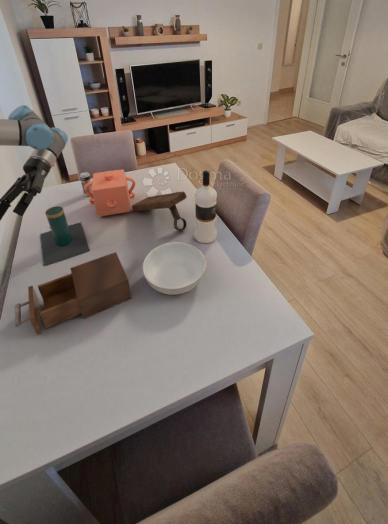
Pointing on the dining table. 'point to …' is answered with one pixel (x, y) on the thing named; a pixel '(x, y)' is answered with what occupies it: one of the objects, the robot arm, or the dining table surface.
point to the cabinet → (100, 284)
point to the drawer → (50, 303)
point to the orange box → (110, 192)
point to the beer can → (84, 180)
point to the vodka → (205, 211)
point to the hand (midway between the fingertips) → (5, 217)
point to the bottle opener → (163, 205)
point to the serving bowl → (174, 267)
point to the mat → (60, 253)
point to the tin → (59, 225)
